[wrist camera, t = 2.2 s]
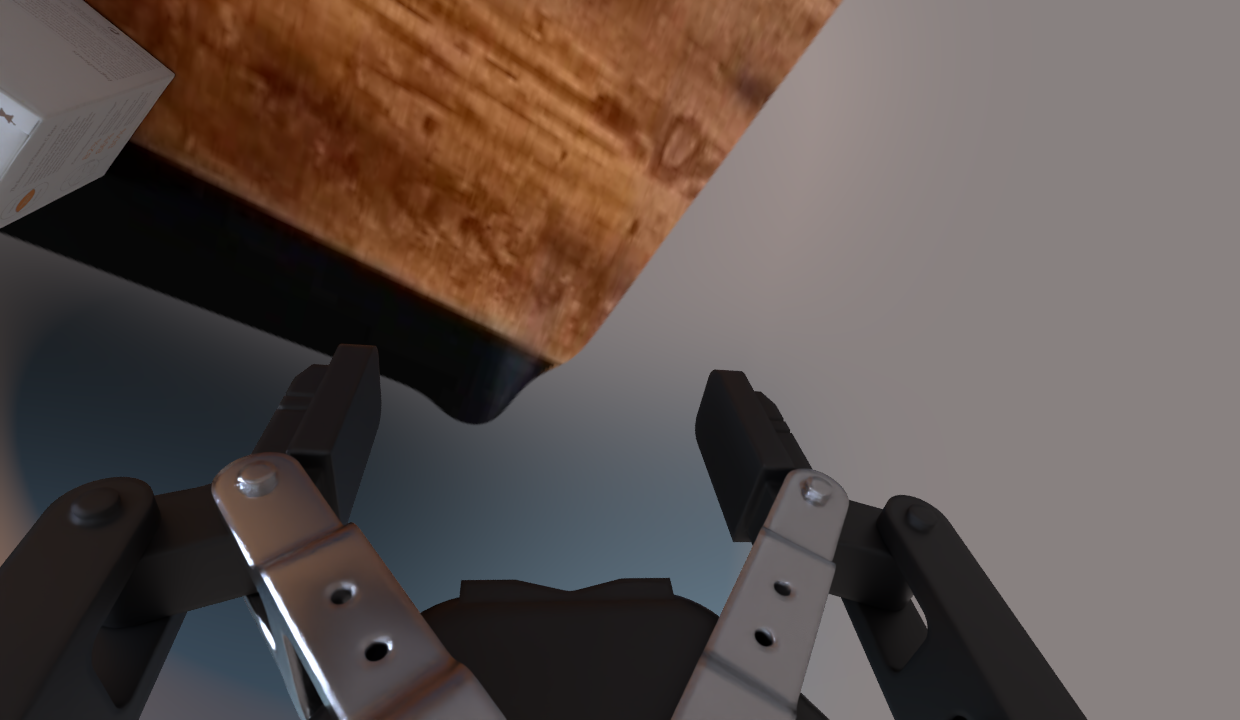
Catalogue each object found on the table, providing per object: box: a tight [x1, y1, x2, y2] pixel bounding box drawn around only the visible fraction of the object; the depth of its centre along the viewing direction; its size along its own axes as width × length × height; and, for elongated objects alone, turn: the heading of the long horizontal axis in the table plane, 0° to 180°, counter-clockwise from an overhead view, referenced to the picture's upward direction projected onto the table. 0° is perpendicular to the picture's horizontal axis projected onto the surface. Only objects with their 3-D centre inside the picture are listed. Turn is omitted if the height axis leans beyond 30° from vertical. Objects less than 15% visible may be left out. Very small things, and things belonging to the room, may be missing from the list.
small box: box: [0, 0, 175, 228], centre depth 26 cm, size 8×6×10 cm
